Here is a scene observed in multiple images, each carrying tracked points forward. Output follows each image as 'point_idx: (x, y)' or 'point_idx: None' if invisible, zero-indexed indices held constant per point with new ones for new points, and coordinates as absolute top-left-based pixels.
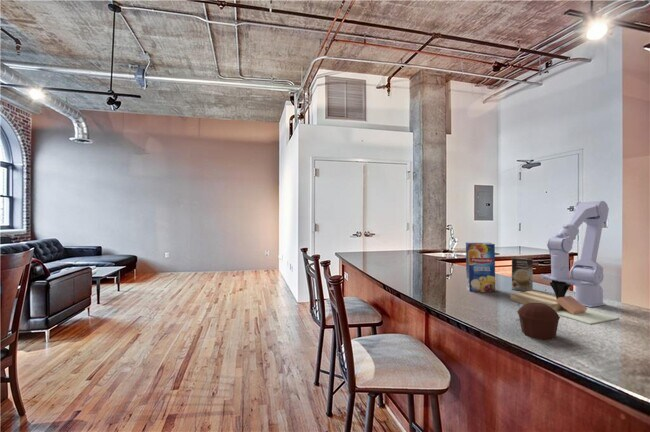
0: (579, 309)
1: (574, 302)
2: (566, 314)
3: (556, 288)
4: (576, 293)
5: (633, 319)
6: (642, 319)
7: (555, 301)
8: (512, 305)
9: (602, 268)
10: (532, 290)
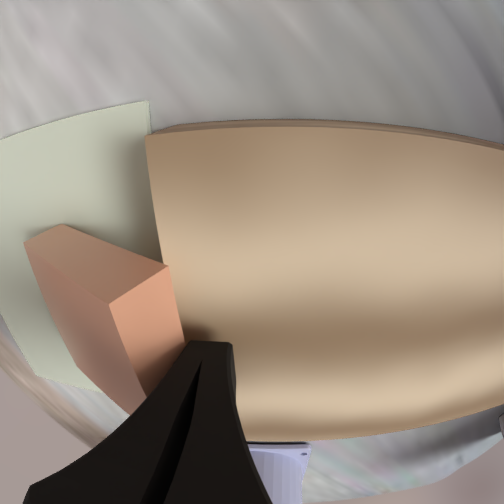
0: (43, 297)
1: (97, 369)
2: (65, 175)
3: (177, 478)
4: (281, 499)
5: (41, 396)
6: (48, 412)
7: (242, 319)
8: (484, 3)
9: None
10: (501, 421)
